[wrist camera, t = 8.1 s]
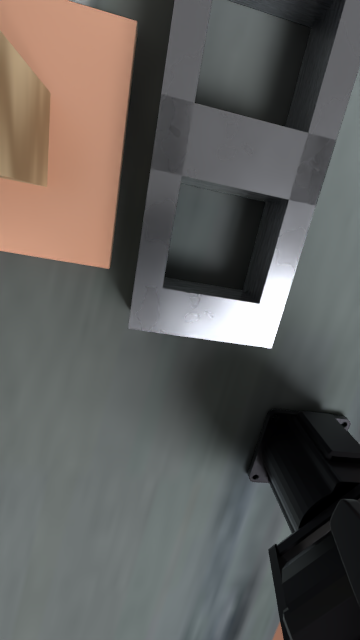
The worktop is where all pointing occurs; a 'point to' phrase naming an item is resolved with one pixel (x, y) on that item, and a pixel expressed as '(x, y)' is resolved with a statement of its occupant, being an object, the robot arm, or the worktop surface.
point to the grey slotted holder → (242, 172)
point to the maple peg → (22, 119)
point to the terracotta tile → (71, 129)
